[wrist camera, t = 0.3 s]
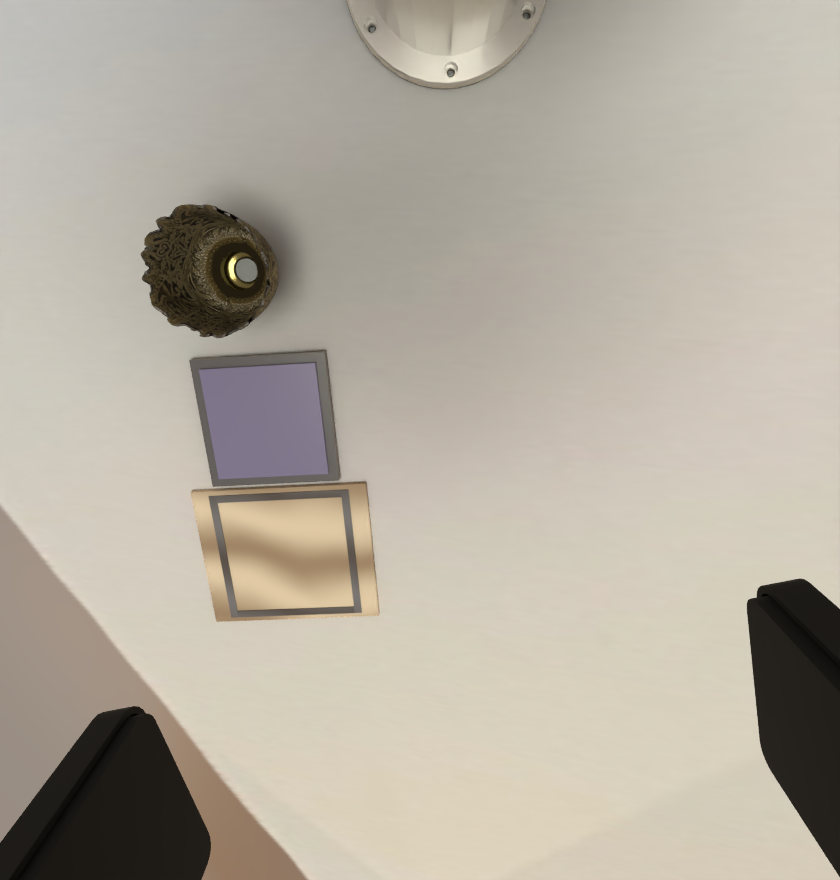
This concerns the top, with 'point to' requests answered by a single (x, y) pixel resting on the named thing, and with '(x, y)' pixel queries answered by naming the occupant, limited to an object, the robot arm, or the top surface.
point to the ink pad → (267, 418)
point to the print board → (288, 551)
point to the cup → (207, 270)
